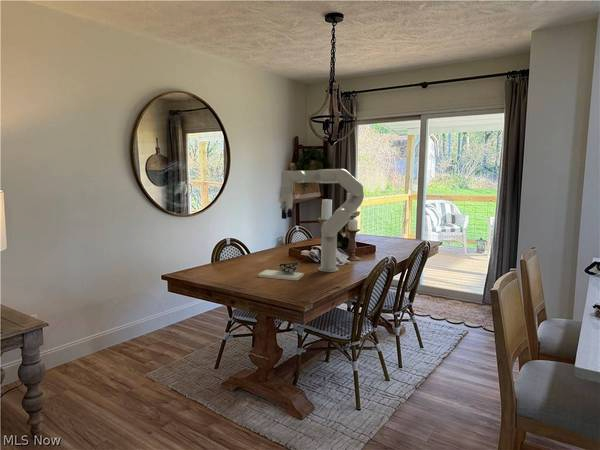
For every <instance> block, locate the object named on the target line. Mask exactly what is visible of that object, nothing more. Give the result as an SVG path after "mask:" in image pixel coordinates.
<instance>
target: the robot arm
mask: <svg viewBox="0 0 600 450" xmlns="http://www.w3.org/2000/svg"><path fill="white" fill-rule="evenodd" d="M280 175H281V176H280V177H281V178H280V180H281V181H280V182H281V183H280V188H281V189H280V193H281V194H280V209H281V219H283V220H287V219H288V218H293V205H294V204H293V203H294V202H293V200H294V199H293V194H294V183H297V184H301V183H317V184H339V185H340V186H341V187H343V188H344V189H345V190H346V191H347V192H348V193H349V196H348V198H347V199H345V201H344V202H343V203H342V204H341V205H340V206H339V207H338V208H337V209H336V210H335V211H334V213H333V214H332V215H331V216H330V217H329V218H328V219H327V220H325V221H324V222H323V223H322V224H321V227H320V230H321V248H320V252H321V253H320V266H319V267H318V271H320V272H324V273H336V272H339V267H338V266H337V250H338V249H337V247H338V245H337V244H338V232H340V230H341V229H342V228H343V227H345V226H346V224H347V223H348V222H349V221H350V217H351V216H352V215H353V214H354V213H355V212H356V211H357V210H358V209H359V208H360V206H361V205H362V203H363V201H364V196H365V195H364V194H365V193H364V186H363V185H362V183H361V182H360V181H359V180H357V179H356V178H355V177H354V176H353V175H352V174H351V173H350V172H349V171H348V170H346V169H345V168H325V169H324V168H322V169H321V168H320V169H317V170H313V169H312V170H283V171H281V174H280Z"/></svg>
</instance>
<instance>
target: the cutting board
mask: <svg viewBox="0 0 600 450" xmlns="http://www.w3.org/2000/svg"><path fill="white" fill-rule="evenodd" d="M304 276H305V274H304V272H296V271H295V272H294V273H292V274H286V273H284V272H282V271H281V270H273V269H265V270H263V271H261V272H260V273H258V277H259V278H269V279H279V280H287V281H288V280H289V281H298V280H300V279H301V278H303V277H304Z"/></svg>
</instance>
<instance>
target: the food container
mask: <svg viewBox="0 0 600 450" xmlns="http://www.w3.org/2000/svg"><path fill="white" fill-rule="evenodd" d="M277 266H278V268H279V271H282V272H284V273H286V274H292V273H294V272H296V271H298V269H299V267H300V262H295V263H291V262H290V263H278V265H277Z"/></svg>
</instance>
